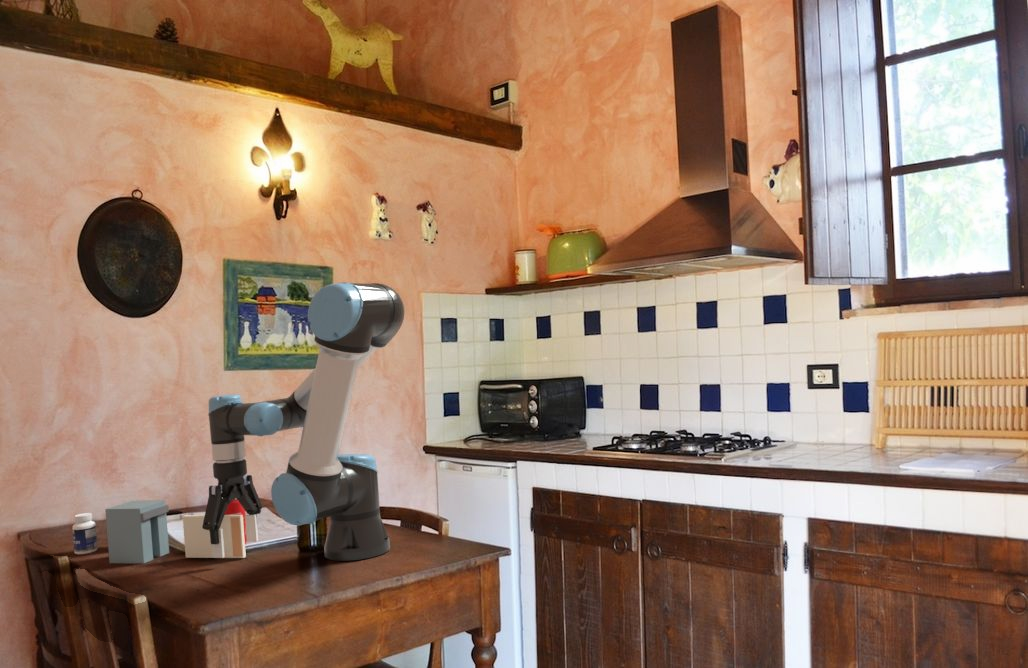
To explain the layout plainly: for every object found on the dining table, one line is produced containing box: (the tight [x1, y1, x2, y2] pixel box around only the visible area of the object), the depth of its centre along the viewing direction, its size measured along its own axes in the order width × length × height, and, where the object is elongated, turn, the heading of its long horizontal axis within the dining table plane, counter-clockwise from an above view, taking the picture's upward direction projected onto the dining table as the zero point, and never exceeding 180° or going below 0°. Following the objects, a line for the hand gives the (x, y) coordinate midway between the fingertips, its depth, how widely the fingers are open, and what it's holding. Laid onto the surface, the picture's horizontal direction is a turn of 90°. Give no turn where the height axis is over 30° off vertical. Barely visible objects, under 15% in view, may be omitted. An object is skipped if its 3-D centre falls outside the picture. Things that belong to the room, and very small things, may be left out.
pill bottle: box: [72, 512, 98, 555], centre depth 214 cm, size 5×5×10 cm
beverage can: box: [225, 498, 248, 543], centre depth 210 cm, size 5×5×12 cm
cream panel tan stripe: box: [182, 514, 247, 559], centre depth 198 cm, size 16×1×10 cm, turn 74°
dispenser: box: [104, 500, 170, 564], centre depth 203 cm, size 11×9×13 cm
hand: (236, 549), depth 196 cm, fingers open, 13 cm apart
